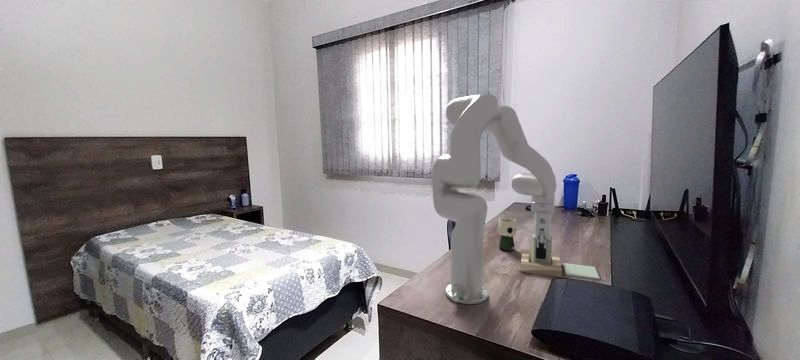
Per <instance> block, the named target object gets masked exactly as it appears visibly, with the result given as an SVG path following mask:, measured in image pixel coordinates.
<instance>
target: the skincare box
mask: <svg viewBox="0 0 800 360" xmlns="http://www.w3.org/2000/svg"><path fill="white" fill-rule="evenodd" d="M539 239H540V237H539ZM544 240H545V238H544ZM539 242H540V241H539ZM552 246H553V236H551V235H550V241H548V240H547V239H546V259H538V258H536V247H537V239H536V238H535V233H530V253H531V258H530V262H532V263H540V264H548V265H551V255H552V251H553V250H552V248H553V247H552Z"/></svg>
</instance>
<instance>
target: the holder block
mask: <svg viewBox="0 0 800 360" xmlns="http://www.w3.org/2000/svg"><path fill="white" fill-rule="evenodd" d="M520 258H521V260H520V272H521V273H526V274H535V275H536V274H537V275H542V276H547V277H548V276H550V277H555V276H556V277H557V278H562V276H563V275H562V274H563V273H562V271H563V270H562V269H563V268H562V263H561V259H560V255H554V254H551V265H548V264H540V263H532V262H530V258H531V251H521V257H520Z"/></svg>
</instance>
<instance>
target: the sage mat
mask: <svg viewBox="0 0 800 360" xmlns="http://www.w3.org/2000/svg"><path fill="white" fill-rule="evenodd" d="M563 268H564V269H563V270H564V272H565V273H564V274H565V276H571V277H576V278H577V277H578V278H585V279H590V280H591V279H592V280H599V281H600V279H601V277H600V276H599V273H598V270H597V269H596V267H595V266H593V265H592V266H591V265H585V264H584V265H583V264H575V263H567V262H566V263H565V262H563Z"/></svg>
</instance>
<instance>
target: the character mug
mask: <svg viewBox="0 0 800 360" xmlns="http://www.w3.org/2000/svg"><path fill="white" fill-rule="evenodd" d="M516 228H517V220H516V218H515V219H514V218H509V217H501V218H498V226H497V234H498V235H500V238H499V242H498V244H499V246H498V248H499V249H501V250H503V251H513V250H515V239H514V236H516V234H517V229H516Z"/></svg>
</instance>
